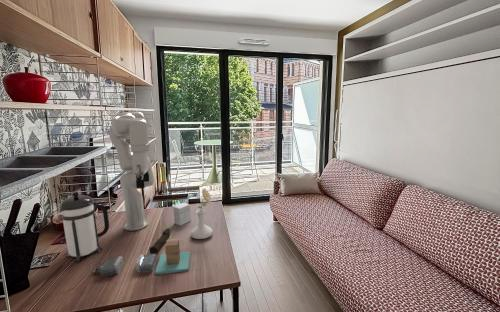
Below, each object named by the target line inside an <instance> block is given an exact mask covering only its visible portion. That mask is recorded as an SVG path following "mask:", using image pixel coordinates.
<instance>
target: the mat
mask: <svg viewBox="0 0 500 312" xmlns="http://www.w3.org/2000/svg"><path fill="white" fill-rule="evenodd" d="M190 258H191V251H180V261H179V264H172V265H167V261H166V253H162V254H161V253H160V256H159V260H158V263H157V266H156V268H155V271H154V274H155V275H164V274H172V273H180V272H188V271H189V268H190V267H189V266H190V260H191V259H190Z"/></svg>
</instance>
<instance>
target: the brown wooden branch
mask: <svg viewBox="0 0 500 312" xmlns="http://www.w3.org/2000/svg"><path fill="white" fill-rule="evenodd" d="M170 236H171V229H170V228H169V227H168V228H166V229H164V230H163V231H162V235H161V236H160V237H159V238H158V239H157V240H156V241H155V242H154V243H153V245H152V246H150V247H149V248H148V250H149V251H148V252H149V254H156V255H157V254H158V253H159V250H160V249H161V248H162V246H163V245H164V244H166V241H167V240H169V239H170Z"/></svg>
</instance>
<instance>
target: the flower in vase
mask: <svg viewBox="0 0 500 312" xmlns="http://www.w3.org/2000/svg"><path fill="white" fill-rule="evenodd" d="M201 194H202V197H203V199H202V201H201V204H200V205H201V206H199V205H198V207H197V210H196V211H195V213H196V214H197V217H198V224H197V225H196V226H195V227H193V228H192V230H191V231H190V236H191V238H193V239H197V240H203V239H207V238H209V237H211V236H212V234H213V229H212V228H211V227H210V226H208V225H206V224H205V223H204V215H205V213H206V210H205V209H202V208H203V207H206V206H207V203H211V201H212V197H211V196H212V195H211V193H210V192H209V190H206V188H202V191H201ZM204 200H205V201H204Z"/></svg>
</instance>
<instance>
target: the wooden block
mask: <svg viewBox="0 0 500 312" xmlns="http://www.w3.org/2000/svg"><path fill="white" fill-rule="evenodd" d="M180 252H181V250H180V238H172V239H170V238H169V239H168V240H166V241H165V254H166V261H167V265H172V264H179V261H180Z"/></svg>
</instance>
